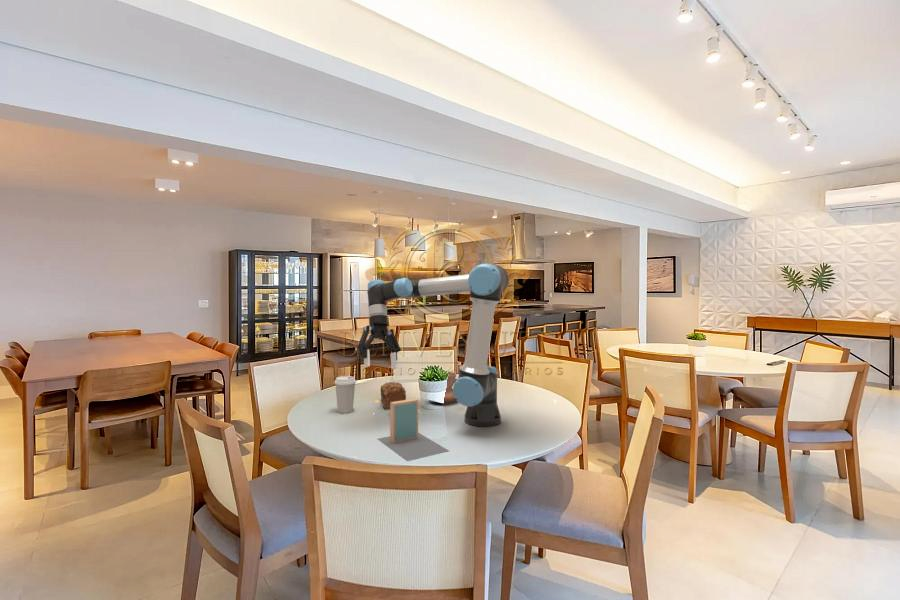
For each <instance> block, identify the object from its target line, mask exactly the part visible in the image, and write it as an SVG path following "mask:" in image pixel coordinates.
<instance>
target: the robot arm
mask: <svg viewBox="0 0 900 600" xmlns="http://www.w3.org/2000/svg"><path fill="white" fill-rule="evenodd" d="M509 282H510V279H509V275H508V272H507V271H506V270H505V268H503V267H502V266H500V265H495V264H491V263H482V264H478V265H476V266H474V267H473V268H472V269H471V271H469V273H464V274H459V275H458V274H457V275H450V276H449V275H448V276H439V277H432V278H424V279H414V280H410V279H409V278H408V277H402V278H398V279H395V280H392V281H388V282H385V281H384V280H382V279H372V280H369V282H368V283H367V293H366V294H367V301H368V317H369V318H368V322H369V323H368V325H365V326H363V328H362V329H363V330H362V331H363V332H362V333H361V336H360V339H359V342H358V344H357V349H359V350H360V352H361V353H362V355H361V356H362V359H363V367H364V368H368V367H371V360H370V359H371V356H370V355H371V354H370V349H368V348H369V347H370V346H371V344H372V343H373V342H374V340H376V339H378V340H382V341H383V342H384V343H385V345H386V346H387V347H388V349H389V350H390V369H391V370H394V369H398V362H397V361H398V353H399V352H401V350H402V349H401V346H400V344H399V343H398V340H397V338H396V335H395V332H394V329H393V328H392V329H388V326H389V325H388V324H389V322H388V307H387V302H389V301H394V300H397V299H409V298H410V299H418V298H423V297H433V296H443V295H456V294H463V293H464V294H465V293H469V299H470V300H471V302H472V306H471V311H470V312H471V313H470V318H469V319H470V320H469V327H468V335H467V342H466V350H465V356H464V363H463V364H461V366H459V370H458V377H457V378H456V379H457V380H456V382H455V383H454V384H453V386H452V389H453V394H454V396H455V398H456V399H457V400H456V401H457V402H458V403H459V404H460V405H462V406H464V407H466V411H465V414H464V422H465V424H467V425H470V426H475V427H482V428H483V427H484V428H485V427H495V426H498V425H500V424H501V422H502V414H501V412H500V409H499V406H498V369H497V368H496V366H490V365H489V366H488V360H489V358H488V357H489V353H490V344H491V339H492V331H493V323H494V315H495V309H496V305H497V304H499V303H500V302H501V296H502V293H503V292H504V291H506V289H507V287H508V286H509ZM369 334H370V335H369Z"/></svg>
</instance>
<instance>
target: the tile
mask: <svg viewBox="0 0 900 600" xmlns="http://www.w3.org/2000/svg"><path fill="white" fill-rule="evenodd" d="M389 411H390V412H389V415H390V416H389V417H390V419H389V421H390V422H389V426H390V427H389V430H390V431H389V436H390V441H391V442H392V443H397V442H402V441H406V440H411V439H416V438H418V433H419V399H417V398H411V399H406V400H402V401H396V402H390V410H389Z"/></svg>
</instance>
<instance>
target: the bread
mask: <svg viewBox="0 0 900 600" xmlns="http://www.w3.org/2000/svg"><path fill="white" fill-rule="evenodd" d="M406 393H407V391H406V389H405V387H404V386H403V385H402V383H400V382H395V381H394V382H385V383H384V384H382V385H381V386H380V399H381V400H380V401H381V404H382V406H383V409H384V408H385V409H384V410H388V409H390V402H396V401H402V400H407V394H406Z"/></svg>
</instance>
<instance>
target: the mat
mask: <svg viewBox="0 0 900 600" xmlns="http://www.w3.org/2000/svg"><path fill="white" fill-rule="evenodd" d="M377 440H378V441H379V442H380V443H382V444H383V445H385V446H386V447H387V448H388V449H390V450H391V451H392V452H394V453H395V454H397V455H398V456H400V457H401V458H402V459H403V460H405V461H406V462H410V461H411V462H412V461H414V460H419V459H423V458H427V457H430V456H435V455H439V454H440V455H441V454H444V453H447V452H450V450H449V449H447V448H446V447H444V446H442V445H440V444H439V443H437V442H435V441H434V440H432V439H430V438H428V437H427V436H425V435H424V434H422V433H420V432H418V438H416V439H411V440H406V441H402V442H397V443H392V442H391V441H390V435H389V436H385V437H384V436H383V437H379V438H377Z"/></svg>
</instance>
